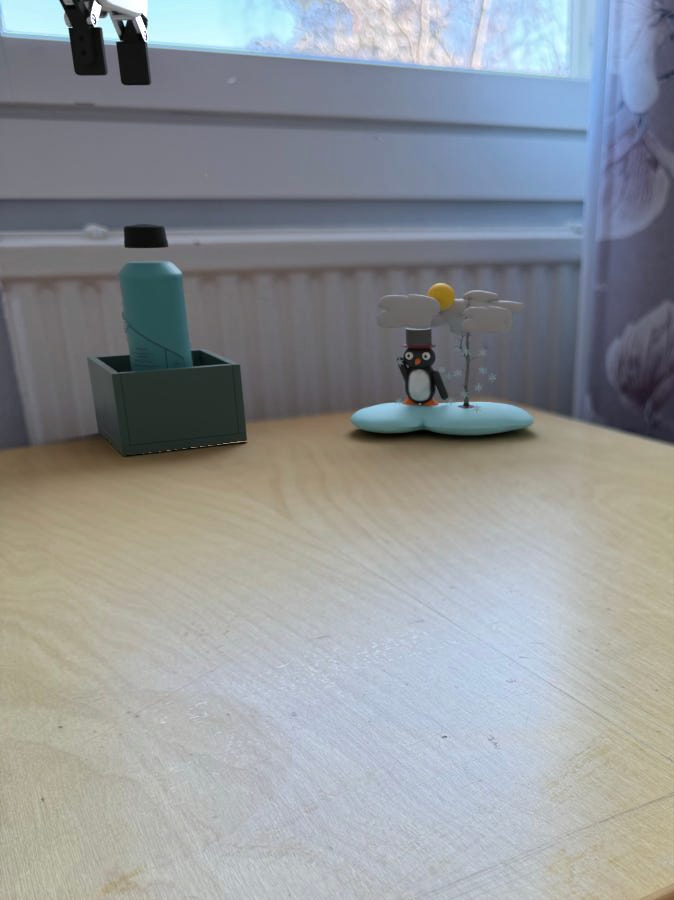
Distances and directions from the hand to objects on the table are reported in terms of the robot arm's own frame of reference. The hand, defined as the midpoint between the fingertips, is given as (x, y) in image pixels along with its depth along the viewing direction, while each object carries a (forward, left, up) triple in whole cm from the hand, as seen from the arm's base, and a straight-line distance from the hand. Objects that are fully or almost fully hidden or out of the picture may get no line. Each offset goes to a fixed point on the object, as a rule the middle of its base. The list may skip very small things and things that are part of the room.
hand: (115, 80), depth 102 cm
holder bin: (+6, -10, -34) cm, 36 cm away
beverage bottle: (+6, -10, -34) cm, 35 cm away
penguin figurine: (+34, -2, -34) cm, 48 cm away
